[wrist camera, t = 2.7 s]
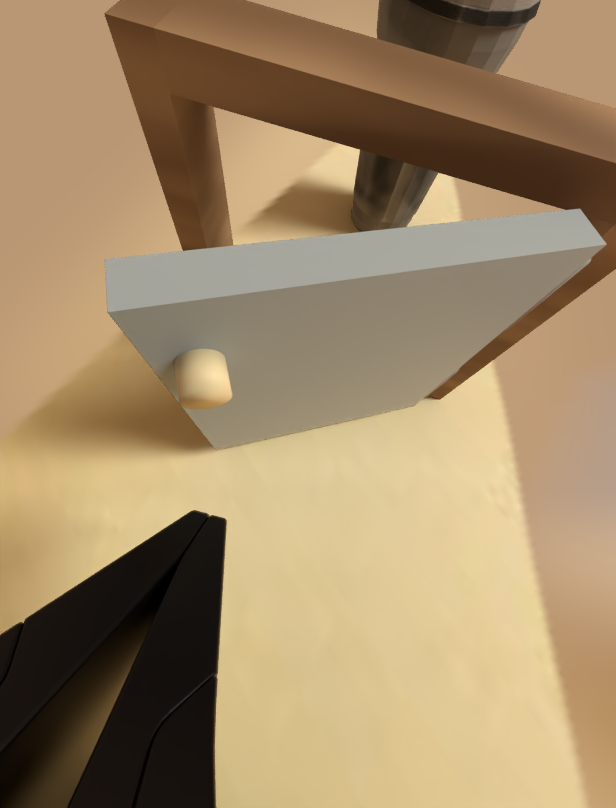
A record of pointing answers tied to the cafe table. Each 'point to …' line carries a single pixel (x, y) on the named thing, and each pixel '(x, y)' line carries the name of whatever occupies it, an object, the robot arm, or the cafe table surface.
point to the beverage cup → (447, 38)
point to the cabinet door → (336, 316)
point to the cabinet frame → (357, 120)
